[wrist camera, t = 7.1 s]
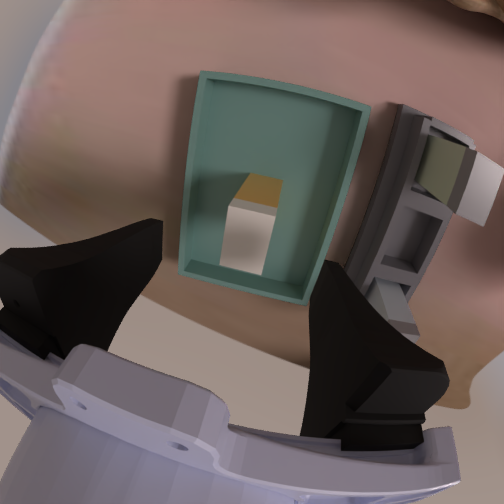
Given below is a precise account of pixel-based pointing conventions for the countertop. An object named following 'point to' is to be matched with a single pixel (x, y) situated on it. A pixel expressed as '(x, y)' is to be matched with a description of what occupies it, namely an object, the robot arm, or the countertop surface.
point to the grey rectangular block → (392, 306)
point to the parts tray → (272, 165)
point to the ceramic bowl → (482, 7)
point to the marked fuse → (250, 223)
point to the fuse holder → (402, 209)
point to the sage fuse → (459, 178)
